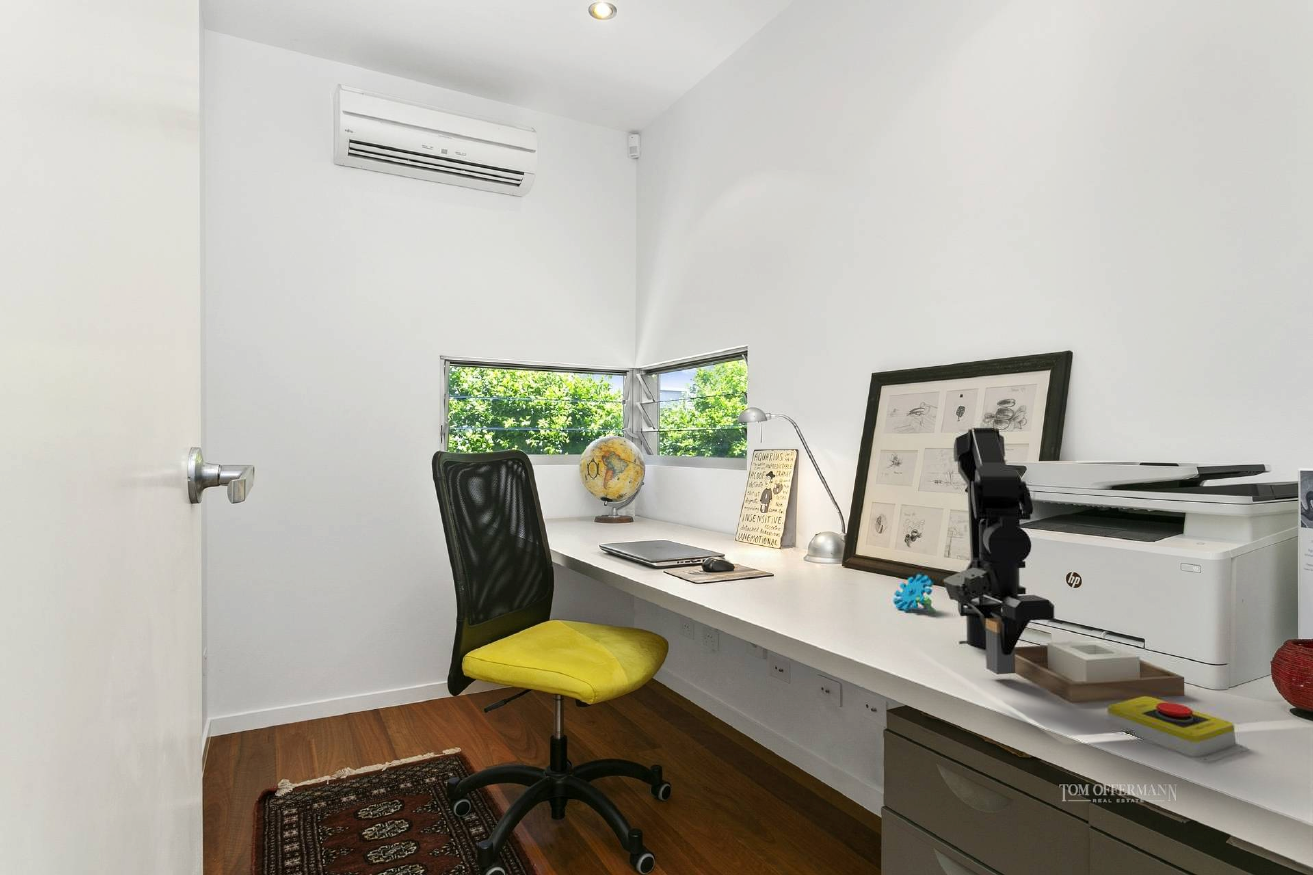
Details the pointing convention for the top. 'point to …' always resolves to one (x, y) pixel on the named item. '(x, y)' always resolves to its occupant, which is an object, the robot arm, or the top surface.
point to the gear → (914, 593)
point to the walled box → (1151, 682)
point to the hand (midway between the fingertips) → (1000, 651)
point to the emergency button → (1177, 728)
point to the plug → (997, 650)
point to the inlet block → (1092, 661)
